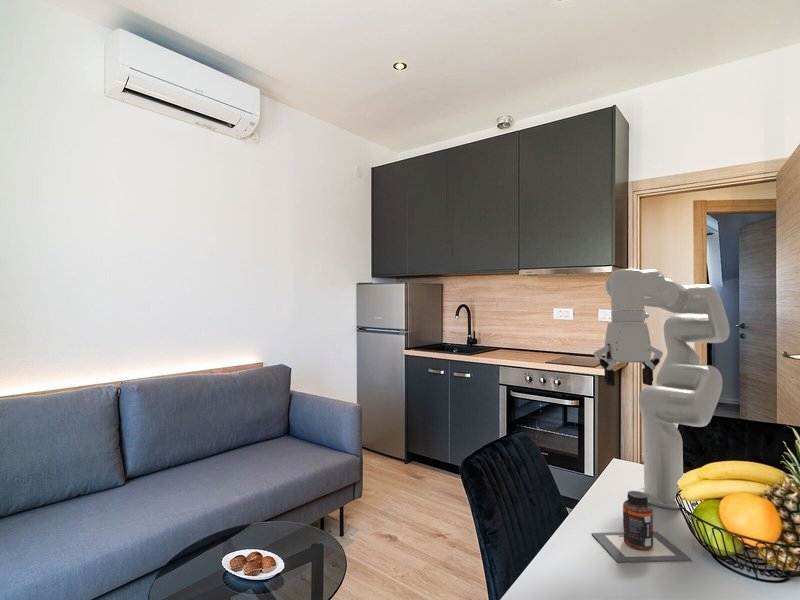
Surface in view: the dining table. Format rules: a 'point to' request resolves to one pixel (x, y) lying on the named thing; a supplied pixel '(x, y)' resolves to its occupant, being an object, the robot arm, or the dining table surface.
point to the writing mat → (625, 553)
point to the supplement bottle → (638, 521)
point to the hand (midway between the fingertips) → (628, 384)
